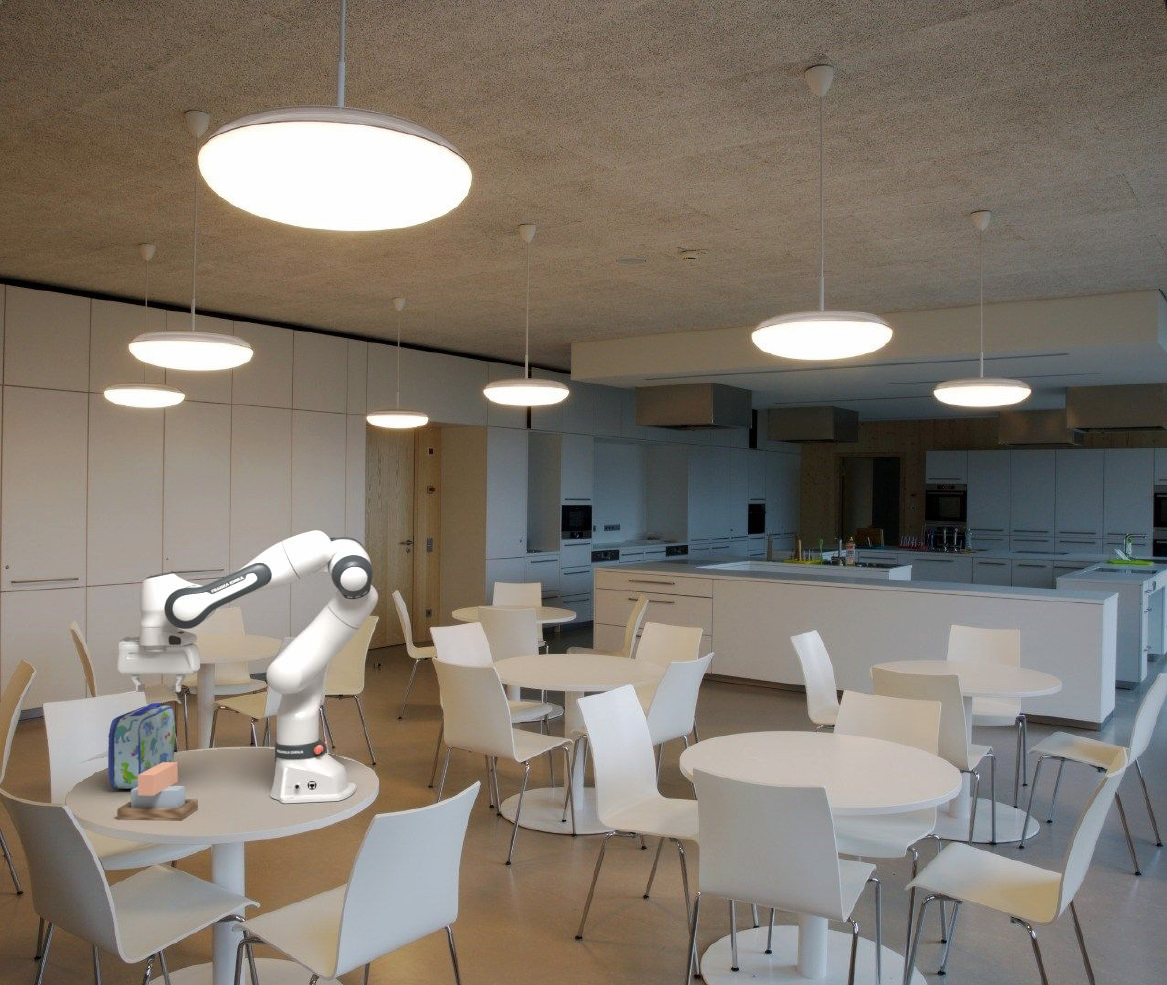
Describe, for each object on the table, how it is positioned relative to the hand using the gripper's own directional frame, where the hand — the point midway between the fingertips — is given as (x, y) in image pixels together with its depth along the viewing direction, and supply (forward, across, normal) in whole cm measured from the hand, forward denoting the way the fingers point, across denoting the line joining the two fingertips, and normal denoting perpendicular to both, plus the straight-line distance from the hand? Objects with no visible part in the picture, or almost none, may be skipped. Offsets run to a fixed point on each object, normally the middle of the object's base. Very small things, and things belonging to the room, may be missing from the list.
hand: (158, 691), depth 236 cm
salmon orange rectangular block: (+24, 0, 0) cm, 24 cm away
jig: (+31, 0, 0) cm, 31 cm away
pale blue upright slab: (+30, 0, 0) cm, 30 cm away
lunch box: (+31, -20, +29) cm, 47 cm away
